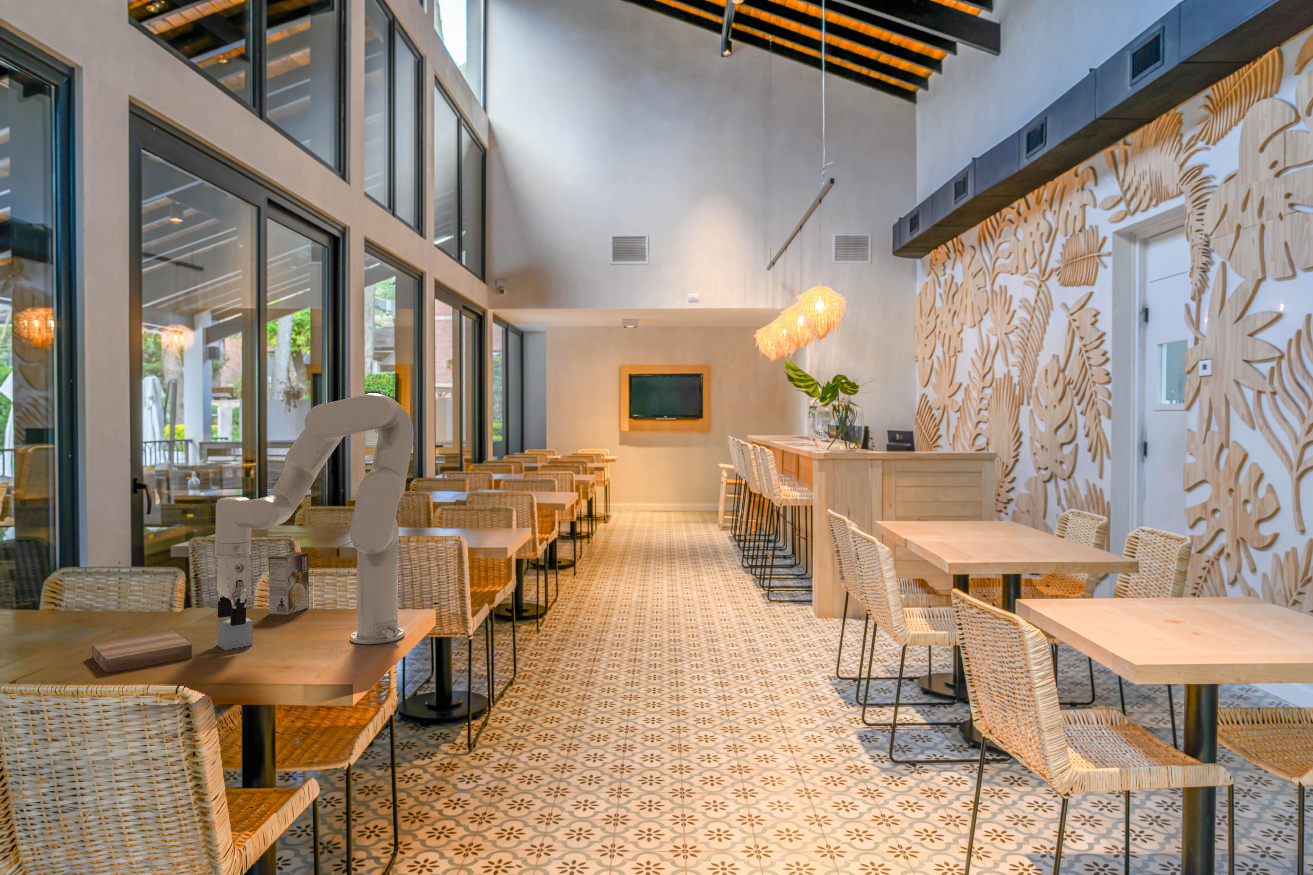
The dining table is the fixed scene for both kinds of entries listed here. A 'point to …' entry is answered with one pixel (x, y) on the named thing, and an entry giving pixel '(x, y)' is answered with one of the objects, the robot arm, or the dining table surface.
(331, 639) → the dining table surface
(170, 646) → the walnut base
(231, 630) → the light grey cube
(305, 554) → the coffee box
